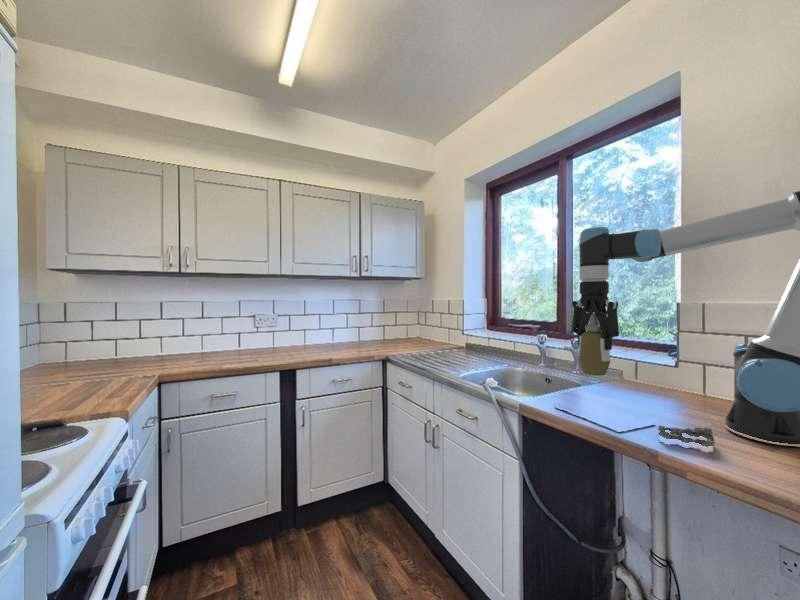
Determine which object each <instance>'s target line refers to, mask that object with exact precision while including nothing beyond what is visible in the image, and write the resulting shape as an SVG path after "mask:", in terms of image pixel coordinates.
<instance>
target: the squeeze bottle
mask: <svg viewBox="0 0 800 600" xmlns="http://www.w3.org/2000/svg"><path fill="white" fill-rule="evenodd" d="M585 331H586V332H584V333H582V336H581V345H580V346H579V355H578V357H579V358H578V362H579V364H580V367H581V370H582V373H583V374H585V375H589V376H600V377H601V376H605V375H606V374H607V372H608V370H609V367H610V364H611V360H610V361H602V357H601V346H600V338H601V337H603V335H602V331H601V328H600V325H599V321H598V318H597V316H596V315H595V313H594V312H593V313H592V314H591V318H590V321H589V325H585Z"/></svg>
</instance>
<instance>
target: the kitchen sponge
mask: <svg viewBox="0 0 800 600" xmlns="http://www.w3.org/2000/svg"><path fill="white" fill-rule="evenodd" d="M657 427H658V428H657V431H658V436H659V435H660V436H662V437H664V438H666V439H678V440H681V441H682V442H685V443H689V442H695V443H699V444H701V445H702V446H706V447H708V446H714V447H715V442H716V441H715V437H714V436H713V435H714V433H713V430H712V428H707V427H695V428H694V429H692V428H689V427H688V428H679V427H671V426H670V427H665V425H664V426H663V425H660V424H659V425H658V426H657ZM665 430H669V431H671V432H670V434H669V433H668V432H665ZM659 431H660V432H659ZM682 433H686V434H688V435H690V436H695V437H699V436H703V437H705V438H707V441H705V440H699V439H695V440H694V439H692V438H685V437H683V436H682Z"/></svg>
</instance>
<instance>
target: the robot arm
mask: <svg viewBox="0 0 800 600" xmlns="http://www.w3.org/2000/svg"><path fill="white" fill-rule="evenodd" d="M790 230H796V231H798V232H800V190H798V191H795V192H791V193H790V194H788V196H786V198H784V199H783V198H782V199H779V200H776V201H772V202H769V203H764V204H760V205H757V206H752V207H749V208H746V209H741V210H737V211H733V212H729V213H725V214H722V215H718V216H714V217H710V218H706V219H702V220H697V221H694V222H690V223H686V224H683V225H678V226H675V227H671V228H668V229H667V228H666V229H663V230H659V229H657V228H647V229H646V228H641V229H636V230H630V231H629V230H628V231H622V232H621V231H620V232H612V233H611V232H610V231H609V228H608V227H606V226H597V227H596V226H593V227H587V228H583V229H582V230H581V231H580V234H579V243H578V246H579V247H578V248H579V280H580V282H579V295H581V296H580V300H579V299H578V300H573V301H572V303H571V304H572V307H573V310H572V311H573V312H572V322H571V323H572V326H571V332H572V333H574V334H576V335H577V344H578V346H579V347H580V345H581V336H582V333H584V332H587V331H585V325H589V323H590V319H591V314H592V313H595V315H596V316H597V318H598V322H599V325H600V328H601V332H602V335H603V337H601V338H600V346H601V357H602V361H610V362H611V357H610V356H611V355H610V353H611V350H612V349H613V338H616V337H617V338H618V337H619V336H620V330H619V322H618V321H619V319H618V318H619V316H618V307H619V302H618V301H613V300H610V299H609V298H608V294H609V293H610V290H609V289H610V285H609V284H610V282H609V281H607V280H609V271H610V270H609V262H610V261H611V260H625V259H631V260H633V261H636V262H638V263H646V262H650V261H652V260H654V259H659V258H664V257H667V256H671V255H678V254H682V253H685V252H691V251H696V250H699V249H700V250H701V249H705V248H710V247H714V246H720V245H724V244H729V243H733V242H734V243H735V242H739V241H742V240H746V239H751V238H757V237H761V236H766V235H770V234H775V233H780V232H781V233H782V232H785V231H790ZM732 357H734V358H733V359H734V360H733V362H734V363H733V364H734V366H733V371H734V372H733V378H734V379H733V381H734V382H733V383H734V384H733V388H734V389H733V390H734V391H733V394H734V397H733V403H732V404H731V406H730V409H729V411H728V413H727V415H726V417H725V419H724V421H725V422H724V423H725V424H726V425H727V426H728V427H729V428H731V429H733V430H735V431H737V432H740V433H743V434H746V435H749V436H752V437H756V438H759V439H763V440H767V441H772V442H779V443H788V444H800V258H799V259H798V262H797V263H796V266H795V268H794V269H793V272H792V274H791V276H790V279H789V281H788V283H787V285H786V287H785V289H784V291H783V294H782V295H781V298H780V300H779V302H778V304H777V307H776V308H775V311H774V312H773V314H772V317H771V319H770V321H769V323H768V326H767V327H766V330H765V332H764V334H763V335H762V336H759V337H756V338H753V339H751V340H750V343H738V344H735V346H734V349H733V356H732Z"/></svg>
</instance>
